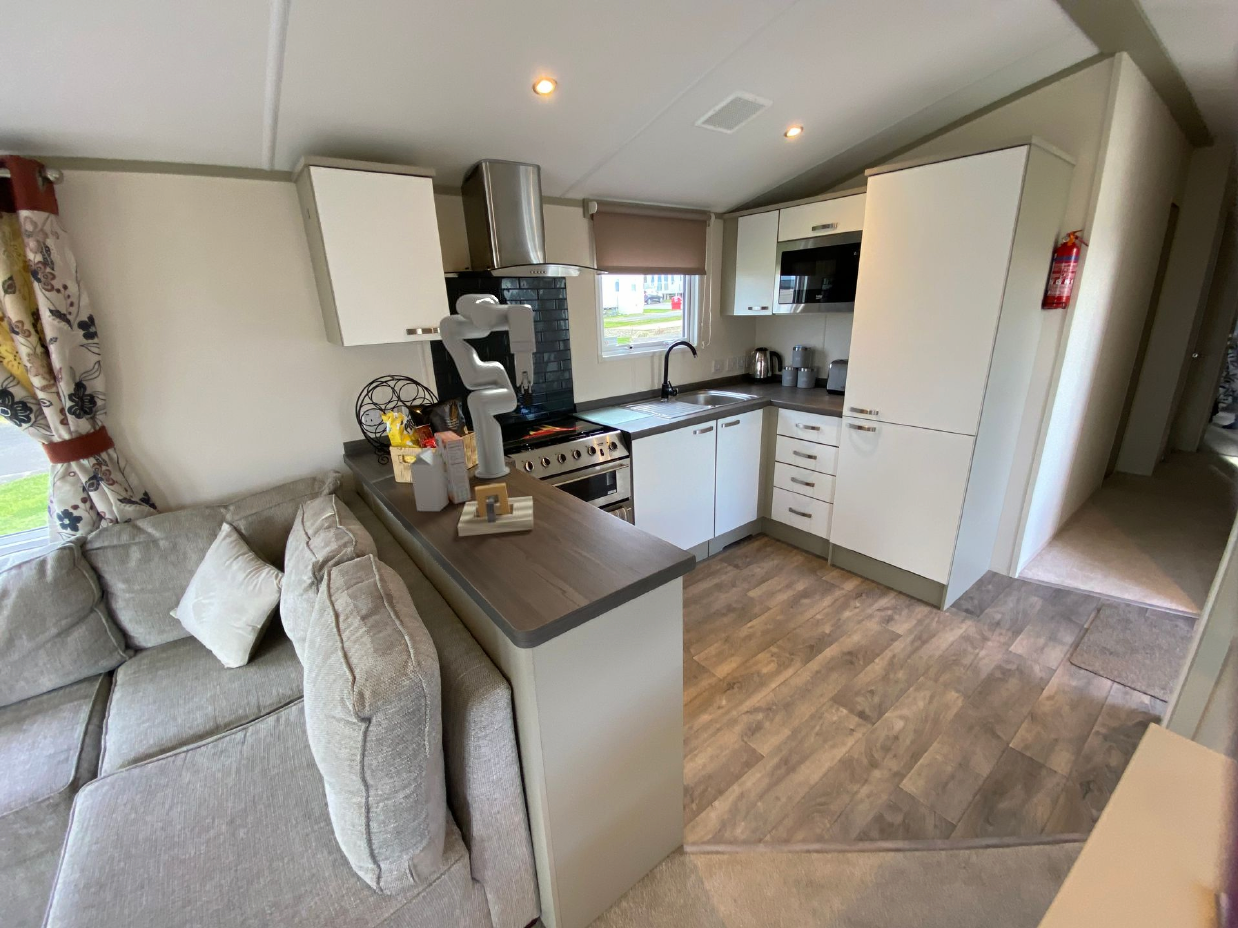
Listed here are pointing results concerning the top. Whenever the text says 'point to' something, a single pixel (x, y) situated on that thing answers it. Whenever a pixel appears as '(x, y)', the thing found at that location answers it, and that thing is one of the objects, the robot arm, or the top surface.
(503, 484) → the tan wooden block
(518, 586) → the top surface
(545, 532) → the top surface
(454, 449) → the cracker box
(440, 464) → the milk carton
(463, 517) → the square frame with handle
